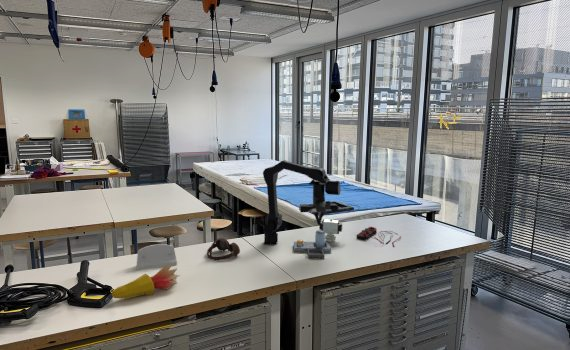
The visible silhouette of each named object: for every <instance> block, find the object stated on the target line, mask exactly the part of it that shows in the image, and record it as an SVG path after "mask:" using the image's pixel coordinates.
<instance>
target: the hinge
mask: <svg viewBox="0 0 570 350" xmlns="http://www.w3.org/2000/svg"><path fill="white" fill-rule="evenodd" d="M136 257H137V258H136V267H137V271H143V270H152V269H159V268H160V269H161V268H163V267H164V266H165V265H168V264H171V263H173V262H175V263H174V264H173V265H172V266H171V267H173V266H176V267H177V265H178V263H177V262H178V261H177V254H176V251H175V246H173V245H170V244H165V243H164V244H163V243H160V244H159V243H158V244H152V245H147V246H144V247H142V248H140V249H138V250H137V256H136Z"/></svg>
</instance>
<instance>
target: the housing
mask: <svg viewBox="0 0 570 350" xmlns="http://www.w3.org/2000/svg"><path fill="white" fill-rule="evenodd" d="M307 249H322V250H323V252H324V254H325V253H326V254H327V253H329V254H330V253H332V247H331V245H330V241H325V247H315V241H303V246H297V241H293V251H294V253H307Z"/></svg>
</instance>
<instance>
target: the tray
mask: <svg viewBox="0 0 570 350" xmlns="http://www.w3.org/2000/svg"><path fill="white" fill-rule="evenodd" d="M306 253H307V257H308V259H314V260H315V259H320V260H322V259H325V253H324V252H323V250H322V249H307V252H306Z"/></svg>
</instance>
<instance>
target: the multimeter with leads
mask: <svg viewBox="0 0 570 350" xmlns="http://www.w3.org/2000/svg"><path fill="white" fill-rule="evenodd" d="M377 231H378V230H377V227H374V226H368V227H366V228H365V227H364V229H362V230H361V231H360V232H358V233H357V234H356V239H357V240H360V241H368V240H369V239H370V238H371V239H373V240H374V239H375V240H377V241H378V242H380V244H382V245H384V244H385V245H388V244H389V243H390V242H391V244H392V247H393V248H395V247H396V246H395V244H394V243H395V242H396V241H398V240H399V239H401V236H399V238H397V239H395V240H394V241H392V235H393V233H394V234H396V235H398V233H396V232H394V231H391V230H389V231H387V230H381V231H379V232H378V234H377ZM382 232H384V233H387V234H391V235H390V239H389V240H388V241H387V242H385V243H384V241H385V239H386V238H385V237H386V235H385V234H384V233H382ZM376 234H377V235H378V237H379V238H380V239H378V238H377V237H376V236H375V235H376ZM380 234H382V235H383V236H384V237H383V239H382V237H381V236H380Z"/></svg>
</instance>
